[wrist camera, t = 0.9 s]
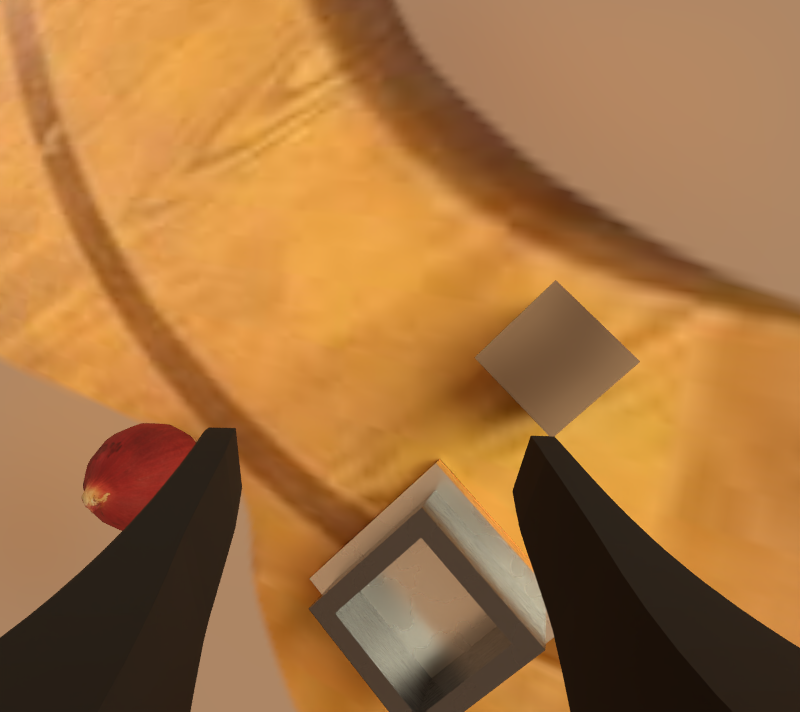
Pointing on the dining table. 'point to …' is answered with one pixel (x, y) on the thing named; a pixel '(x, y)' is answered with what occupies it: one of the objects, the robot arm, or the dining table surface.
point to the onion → (132, 470)
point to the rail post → (556, 359)
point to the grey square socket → (433, 600)
